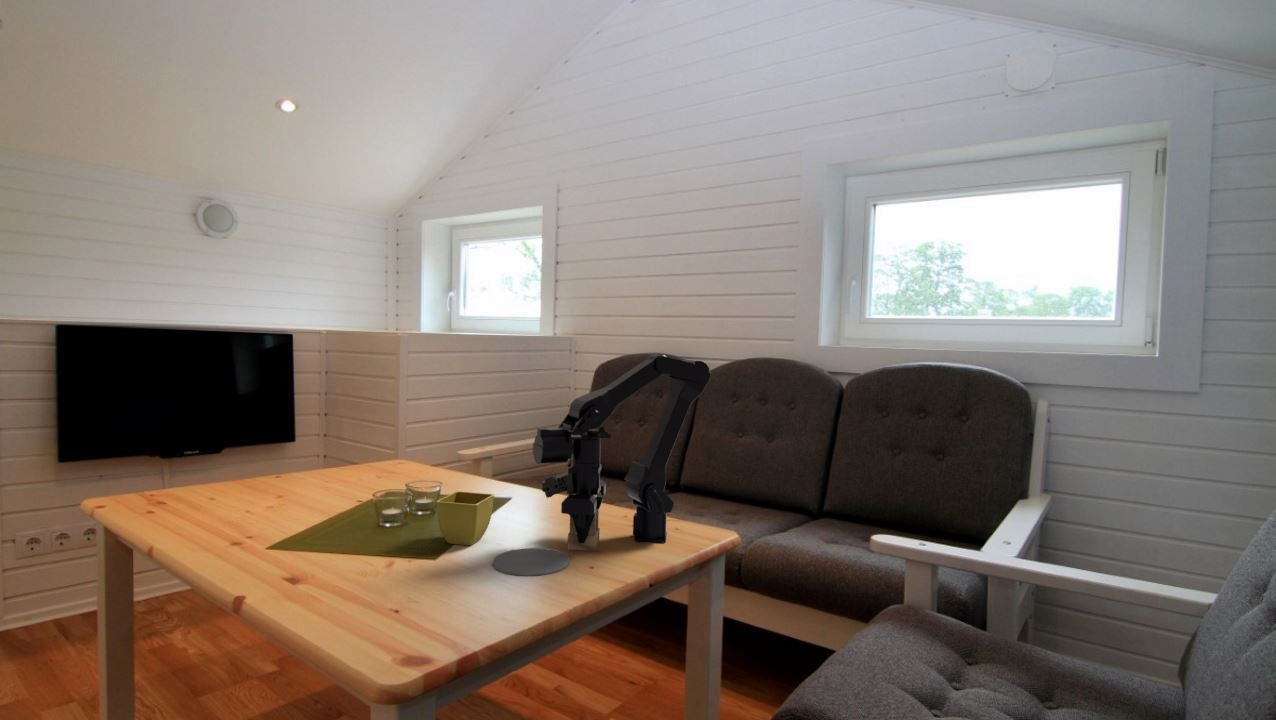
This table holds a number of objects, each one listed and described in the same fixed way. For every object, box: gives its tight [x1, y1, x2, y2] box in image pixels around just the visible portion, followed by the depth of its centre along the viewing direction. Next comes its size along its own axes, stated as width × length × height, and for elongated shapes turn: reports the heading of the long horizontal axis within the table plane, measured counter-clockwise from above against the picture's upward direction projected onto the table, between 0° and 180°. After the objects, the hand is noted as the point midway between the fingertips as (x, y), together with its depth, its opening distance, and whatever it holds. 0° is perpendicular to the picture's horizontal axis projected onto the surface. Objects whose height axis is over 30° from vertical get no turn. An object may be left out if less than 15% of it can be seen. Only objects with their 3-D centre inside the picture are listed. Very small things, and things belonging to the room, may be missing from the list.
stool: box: [567, 508, 601, 552], centre depth 134 cm, size 6×6×7 cm
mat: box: [492, 547, 570, 577], centre depth 123 cm, size 14×14×1 cm
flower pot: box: [435, 490, 495, 546], centre depth 134 cm, size 9×9×9 cm
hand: (583, 538), depth 134 cm, fingers closed on stool, 5 cm apart
